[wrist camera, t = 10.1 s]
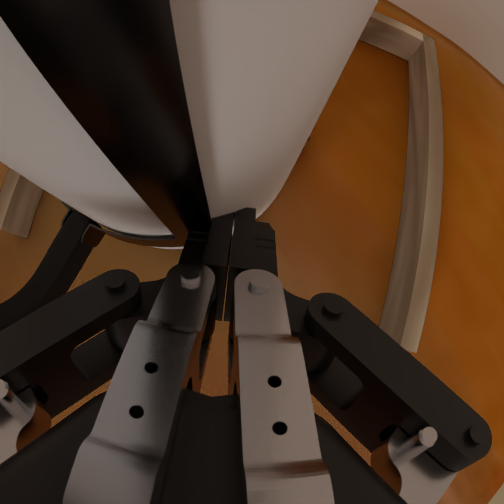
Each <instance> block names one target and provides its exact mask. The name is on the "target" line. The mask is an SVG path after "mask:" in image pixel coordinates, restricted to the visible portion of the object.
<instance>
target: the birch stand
mask: <svg viewBox="0 0 504 504" xmlns="http://www.w3.org/2000/svg"><path fill="white" fill-rule="evenodd" d="M359 40H361V41H363V42H366V43H368V44H371V45H373V46H376V47H378V48H380V49H383V50H385V51H387V52H390V53H392V54H394V55H396V56H398V57H400V58H403V59H405V60H407V61H408V63H409V123H408V144H407V159H406V171H405V182H404V192H403V200H402V208H401V216H400V223H399V230H398V237H397V243H396V249H395V255H394V260H393V266H392V271H391V276H390V281H389V286H388V290H387V295H386V300H385V304H384V308H383V313H382V317H381V321H380V325H379V328H381V329H382V330H383V331H384V332H385V333H386V334H388V335H389V336H390V337H391V338H392V339H393V340H395V341H396V342H397V343H398V344H399V345H400V346H402V347H403V348H404V349H405V350H406V351H411V352H417V349H418V345H419V341H420V337H421V333H422V329H423V324H424V320H425V315H426V311H427V306H428V301H429V296H430V290H431V285H432V279H433V273H434V267H435V260H436V253H437V245H438V237H439V227H440V217H441V204H442V187H443V116H442V100H441V87H440V77H439V68H438V60H437V53H436V47H435V40H434V39H432V38H430V37H428V36H427V35H425V34H423V33H421V32H419V31H417V30H415V29H413V28H411V27H409V26H407V25H405V24H403V23H401V22H399V21H396V20H394V19H392V18H390V17H387V16H385V15H383V14H381V13H378V12H376V11H373V12H372V14H371V16H370V18H369V20H368V22H367V24H366V26H365V28H364V30H363V32H362V34H361V36H360V38H359ZM43 190H44V189H42V188H40V187H39V186H37V185H36V184H34V183H33V182H31V181H29V180H28V179H26V178H25V177H23V176H22V175H20V174H19V173H17V172H16V171H14V170H12V169H11V168H10V169H9V171H8V174H7V176H6V179H5V181H4V184H3V186H2V189H1V192H0V230H1V231H4V232H7V233H10V234H13V235H16V236H19V237H22V238H25V239H27V237H28V234H29V231H30V228H31V224H32V221H33V218H34V215H35V212H36V209H37V207H38V204H39V201H40V198H41V195H42V193H43Z"/></svg>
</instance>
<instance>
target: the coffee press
mask: <svg viewBox="0 0 504 504" xmlns="http://www.w3.org/2000/svg"><path fill="white" fill-rule="evenodd" d="M377 2H378V0H0V162H2V163H3V164H5V165H6V166H8V167H9V168H11V169H12V170H14V171H16V172H17V173H19V174H20V175H22V176H23V177H25V178H26V179H28V180H29V181H31V182H33V183H34V184H36V185H37V186H39V187H40V188H42V189H44V190H45V191H47V192H48V193H50V194H52V195H53V196H55V197H56V198H58V199H60V200H61V202H62V203H63V204H64V205H65V206H66V207H67V208H68V211H67V213H66V215H65V217H64V218H63V220H62V225H61V229H60V231H59V232H58V234H57V236H56V237H55V239H54V241H53V243H52V244H51V246H50V248H49V249H48V251H47V253H46V255H45V256H44V258H43V260H42V262H41V263H40V265H39V267H38V268H37V270H36V271H35V273H34V275H33V276H32V277H31V279H30V280H29V281H28V282H27V283H26V285H25V286H24V287H23V288H22V289H21V290H20V291H18V292H17V293H16V294H15V295H14V296H12V297H11V298H10V299H8V300H7V301H5V302H3V303H1V304H0V331H2V330H3V329H5V328H7V327H8V326H10V325H12V324H13V323H15V322H17V321H18V320H20V319H22V318H24V317H25V316H27V315H29V314H30V313H32V312H34V311H36V310H37V309H39V308H41V307H43V306H44V305H46V304H48V303H50V302H52V301H53V300H55V299H57V298H59V297H60V296H62V295H64V294H66V292H67V291H68V289H69V288H70V286H71V284H72V283H73V281H74V280H75V278H76V276H77V274H78V273H79V271H80V269H81V268H82V266H83V264H84V263H85V261H86V259H87V258H88V256H89V254H90V252H91V251H92V249H93V247H96V246H97V245H98V244H99V243H100V241H101V240H102V238H103V237H104V235H105V234H107V235H109V236H111V237H114V238H116V239H119V240H122V241H125V242H129V243H133V244H137V245H143V246H150V247H155V248H163V249H183V248H184V244H185V241H186V240H187V235H188V233H189V232H191V231H196V230H202V229H209V228H210V224H212V221H211V220H212V218H214V217H218V216H222V215H226V214H229V213H232V212H234V220H233V229H232V235H233V230H234V222H235V215H236V211H238V210H241V209H243V208H246V207H248V208H256V219H257V218H258V217H259V216H260V215H261V214H262V213H263V212H264V211H265V210H266V209H267V208H268V207H269V206H270V204H271V203H272V202H273V201H274V199H275V198H276V196H277V195H278V194H279V192H280V190H281V189H282V187H283V185H284V184H285V182H286V180H287V178H288V176H289V174H290V173H291V171H292V169H293V167H294V165H295V163H296V161H297V159H298V157H299V155H300V153H301V151H302V149H303V147H304V145H305V144H306V142H307V141H308V140H309V139H310V134H311V132H312V130H313V128H314V126H315V124H316V122H317V120H318V118H319V116H320V114H321V112H322V110H323V108H324V106H325V104H326V102H327V100H328V98H329V96H330V95H331V93H332V91H333V89H334V87H335V85H336V83H337V81H338V79H339V77H340V75H341V73H342V71H343V69H344V67H345V65H346V63H347V61H348V59H349V57H350V55H351V53H352V51H353V49H354V47H355V45H356V43H357V42H358V40H359V38H360V36H361V34H362V32H363V30H364V28H365V26H366V24H367V22H368V20H369V18H370V16H371V14H372V12H373V10H374V8H375V6H376V4H377ZM82 213H83V214H84V215H83V214H82ZM85 215H86V216H85ZM87 216H88V217H89V218H88V217H87ZM90 218H91V219H90ZM92 219H93V220H94V221H93V220H92ZM95 221H96V222H98V223H100V224H101V225H103V226H105V227H107V228H108V229H110V230H112V231H114V232H115V233H113V232H109V231H106V230H104V229H102V227H101V226H100V225H99V224H98V223H96V222H95Z"/></svg>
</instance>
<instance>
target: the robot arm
mask: <svg viewBox="0 0 504 504" xmlns="http://www.w3.org/2000/svg"><path fill="white" fill-rule="evenodd" d="M233 220H234V212H232V213H229V214H226V215H222V216H218V217H214V218H212V220H211V221H212V224H210V228H209V229H202V230H196V231H191V232H189V233H188V235H187V240H186V241H185V244H184V248H183V251H182V254H181V257H180V260H179V263H178V265H176V266H174V267H172V268H171V269H170V270H169V272H168V273H167V276H166V278H163V279H160V280H156V281H149V282H140V283H139V279H138V277H137V276H136V275H135V274H134V273H132V272H130V271H128V270H123V269H115V270H110V271H107V272H105V273H103V274H101V275H99V276H97V277H95V278H93V279H92V280H90V281H88V282H86V283H84V284H82V285H80V286H79V287H77V288H75V289H73V290H71V291H70V292H68V293H66V294H64V295H62V296H60V297H59V298H57V299H55V300H53V301H52V302H50V303H48V304H46V305H44V306H43V307H41V308H39V309H37V310H36V311H34V312H32V313H30V314H29V315H27V316H25V317H24V318H22V319H20V320H18V321H17V322H15V323H13V324H12V325H10V326H8V327H7V328H5V329H3V330H2V331H0V504H437V502H438V501H439V499H440V498H441V497H442V495H443V494H444V492H445V491H446V489H447V488H448V486H449V485H450V484H451V482H452V480H453V479H454V477H455V476H456V474H457V473H458V472H459V471H460V470H462V469H464V468H466V467H467V466H469V465H471V464H473V463H474V462H476V461H478V460H480V459H481V458H483V457H484V456H485V455H486V454H487V453H488V452H489V450H490V447H491V443H492V435H491V430H490V428H489V426H488V424H487V423H486V421H485V420H484V419H483V418H482V417H481V416H480V415H479V414H477V413H476V412H475V411H474V410H473V409H472V408H471V407H470V406H469V405H467V404H466V403H465V402H464V401H463V400H462V399H461V398H460V397H459V396H457V395H456V394H455V393H454V392H453V391H452V390H451V389H450V388H448V387H447V386H446V385H445V384H444V383H443V382H442V381H440V380H439V379H438V378H437V377H436V376H435V375H434V374H433V373H431V372H430V371H429V370H428V369H427V368H426V367H425V366H423V365H422V364H421V363H420V362H419V361H418V360H417V359H415V358H414V357H413V356H412V355H411V354H410V353H408V352H407V351H406V350H405V349H404V348H403V347H402V346H400V345H399V344H398V343H397V342H396V341H395V340H393V339H392V338H391V337H390V336H389V335H388V334H386V333H385V332H384V331H383V330H382V329H381V328H379V327H378V326H377V325H376V324H375V323H373V322H372V321H371V320H370V319H369V318H368V317H366V316H365V315H364V314H363V313H362V312H360V311H359V310H358V309H357V308H356V307H355V306H353V305H352V304H351V303H350V302H349V301H347V300H346V299H345V298H343V297H341V296H339V295H336V294H333V293H320V294H317V295H315V296H314V297H312V298H311V300H310V301H309V300H306V299H303V298H300V297H297V296H295V295H293V294H291V293H289V292H288V291H286V290H285V289H284V288H283V286H282V283H281V281H280V280H279V278H278V273H277V258H276V243H275V231H274V230H273V228H272V227H271V226H270V224H269V223H264V222H256V208H248V207H246V208H243V209H241V210H238V211H236V215H235V222H234V230H233V238H232V229H233ZM231 239H232V246H231ZM230 248H231V254H230ZM229 257H230V262H229ZM228 265H229V271H228ZM227 273H228V281H227ZM226 281H227V292H226V302H225V313H224V321H229V322H230V324H229V335H228V395H225V396H217V397H211V396H207V395H204V394H201V393H200V390H201V384H202V380H203V375H204V371H205V366H206V362H207V358H208V353H209V349H210V344H211V340H212V334H213V332H214V327H215V320H219V321H222V315H223V306H224V298H225V289H226ZM103 329H105V330H104V331H103V332H101V333H99V334H98V335H96V336H95V337H93V338H91V339H90V340H88V341H87V342H85V343H83V344H82V345H80V346H78V345H79V344H81V343H82V342H84V341H86V340H87V339H89V338H90V337H92V336H94V335H95V334H97V333H98V332H100V331H102V330H103ZM76 346H78V347H77V348H75V347H76ZM74 348H75V349H74ZM73 349H74V350H73ZM110 379H112V380H111V383H110V385H109V388H108V390H107V391H106V392H103V393H101V394H99V395H97V396H95V397H94V398H92V399H91V400H89V401H88V402H87V403H85V404H84V405H82V406H81V407H80V408H78V409H77V410H76V411H74V412H73V413H71V414H70V415H69V416H67V417H66V418H64V419H63V420H62V421H60V422H59V423H58V424H56V425H55V426H53V427H52V428H51V429H50V427H51V419H52V418H53V417H55V416H56V415H58V414H59V413H61V412H62V411H64V410H65V409H67V408H68V407H70V406H71V405H73V404H74V403H76V402H77V401H79V400H80V399H82V398H83V397H85V396H86V395H88V394H89V393H91V392H92V391H94V390H95V389H97V388H98V387H100V386H101V385H103V384H104V383H106V382H107V381H109V380H110ZM310 393H311V394H312V395H313V396H314V397H315V398H316V399H317V400H318V401H319V402H320V403H321V404H322V405H323V406H324V407H325V408H326V409H327V410H328V411H329V412H330V413H331V414H332V415H333V416H334V417H335V418H336V419H337V420H338V421H339V422H340V423H341V424H342V425H343V426H344V427H345V428H346V429H347V430H348V431H349V432H350V433H351V434H352V435H353V436H354V437H355V438H356V439H357V440H358V441H359V442H360V443H362V444H363V445H364V446H365V447H366V448H367V449H368V450H369V451H370V452H371V453H372V454H371V467H370V466H369V465H368V464H367V463H366V462H365V461H364V460H363V458H362V457H361V456H360V455H359V454H358V453H357V452H356V451H355V450H354V449H353V448H352V447H351V446H350V445H349V444H348V443H347V442H346V441H345V440H344V439H343V438H342V437H341V435H340V434H339V433H338V432H337V431H336V430H335V429H334V428H333V427H332V426H331V425H330V424H329V423H328V422H327V421H325V420H324V419H323V418H322V417H320V416H319V415H317V414H316V413H314V411H313V405H312V399H311V394H310Z"/></svg>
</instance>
